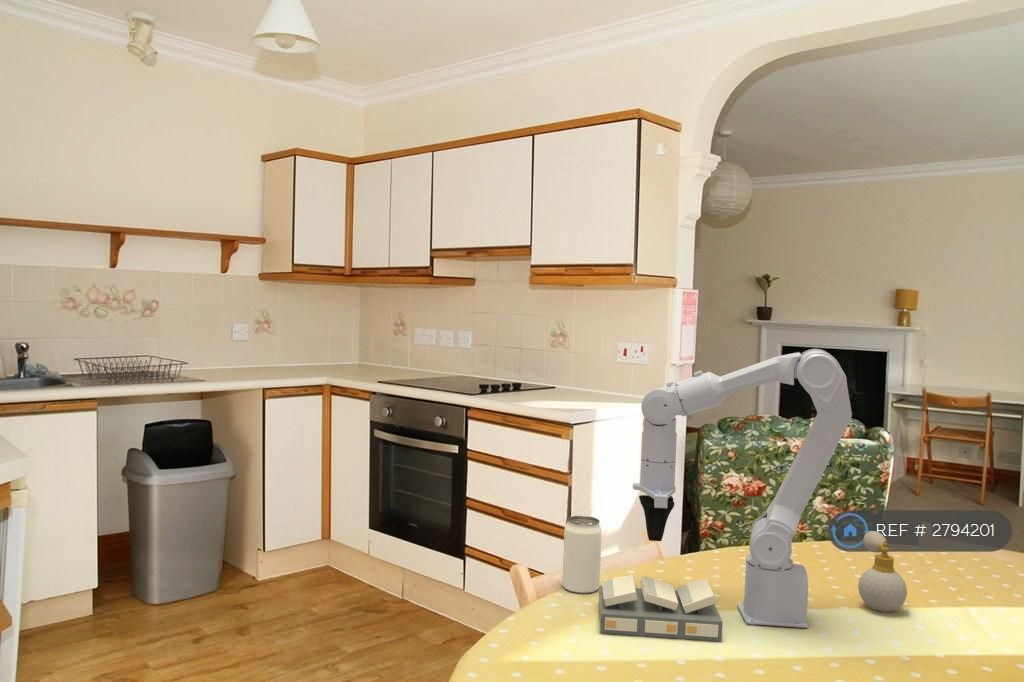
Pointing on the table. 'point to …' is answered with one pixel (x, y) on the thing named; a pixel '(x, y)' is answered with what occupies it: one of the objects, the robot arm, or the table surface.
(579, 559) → the can
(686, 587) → the rocker
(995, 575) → the table surface
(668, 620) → the switch box
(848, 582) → the table surface
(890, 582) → the perfume bottle
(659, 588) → the rocker mid
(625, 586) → the rocker
